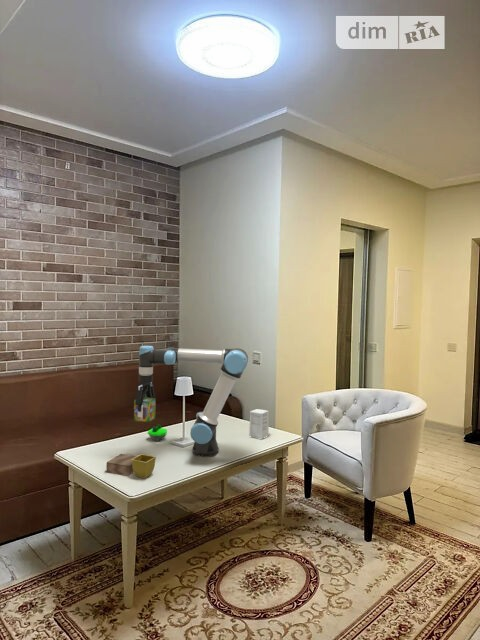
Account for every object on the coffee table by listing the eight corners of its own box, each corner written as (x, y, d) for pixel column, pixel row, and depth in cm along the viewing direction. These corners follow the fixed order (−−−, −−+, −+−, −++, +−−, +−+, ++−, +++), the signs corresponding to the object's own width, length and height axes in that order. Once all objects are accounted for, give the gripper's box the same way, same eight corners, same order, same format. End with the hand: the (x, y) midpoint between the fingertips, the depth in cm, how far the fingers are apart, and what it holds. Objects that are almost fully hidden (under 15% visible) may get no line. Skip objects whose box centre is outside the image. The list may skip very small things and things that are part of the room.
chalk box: (149, 422, 237) (149, 395, 236) (133, 421, 239) (133, 394, 238) (156, 418, 246) (156, 391, 245) (140, 416, 248) (141, 390, 247)
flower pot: (130, 477, 216) (131, 459, 215) (140, 471, 224) (141, 453, 223) (146, 480, 213) (146, 462, 212) (155, 474, 221) (156, 456, 220)
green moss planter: (163, 443, 268) (163, 425, 267) (144, 441, 270) (145, 423, 269) (169, 437, 279) (170, 420, 279) (152, 435, 281) (152, 418, 281)
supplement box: (268, 436, 287) (269, 410, 287) (261, 439, 280) (262, 413, 279) (256, 433, 293) (256, 408, 292) (248, 437, 285) (249, 411, 284)
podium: (142, 466, 230) (142, 457, 230) (129, 475, 217) (129, 465, 217) (120, 463, 234) (121, 453, 234) (106, 472, 221) (106, 462, 221)
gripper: (149, 370, 253) (149, 409, 254) (128, 376, 232) (127, 419, 233) (161, 371, 250) (160, 411, 251) (141, 378, 229) (140, 420, 230)
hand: (144, 414), depth 242 cm, fingers closed on chalk box, 9 cm apart
